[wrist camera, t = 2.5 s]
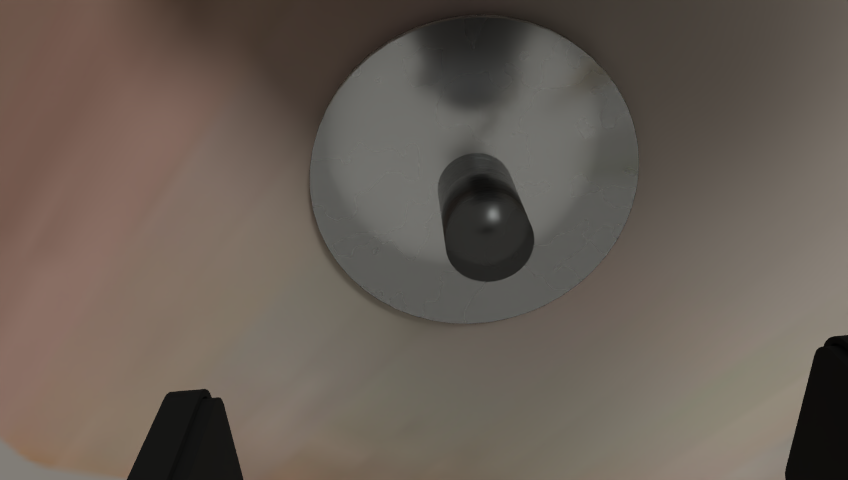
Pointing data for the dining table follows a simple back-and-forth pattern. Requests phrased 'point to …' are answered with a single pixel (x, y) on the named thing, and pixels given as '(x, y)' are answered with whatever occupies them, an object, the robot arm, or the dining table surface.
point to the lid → (473, 169)
